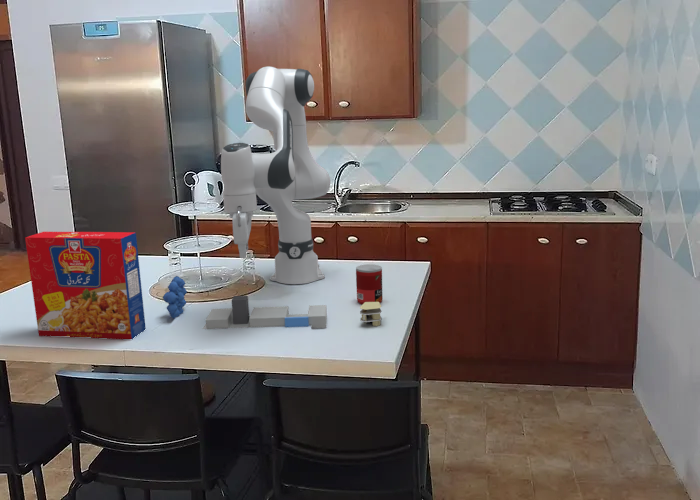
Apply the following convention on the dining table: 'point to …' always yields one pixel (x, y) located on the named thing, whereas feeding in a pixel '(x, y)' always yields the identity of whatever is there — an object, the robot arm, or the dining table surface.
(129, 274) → the pasta box
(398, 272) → the dining table surface
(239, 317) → the dark grey rectangular box
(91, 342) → the dining table surface
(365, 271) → the canned food
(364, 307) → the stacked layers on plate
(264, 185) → the robot arm
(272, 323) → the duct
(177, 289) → the grapes
